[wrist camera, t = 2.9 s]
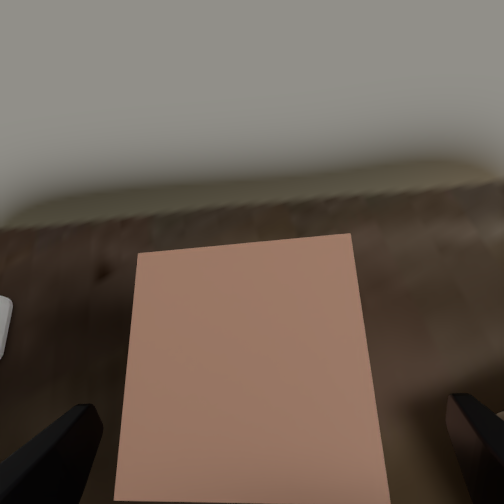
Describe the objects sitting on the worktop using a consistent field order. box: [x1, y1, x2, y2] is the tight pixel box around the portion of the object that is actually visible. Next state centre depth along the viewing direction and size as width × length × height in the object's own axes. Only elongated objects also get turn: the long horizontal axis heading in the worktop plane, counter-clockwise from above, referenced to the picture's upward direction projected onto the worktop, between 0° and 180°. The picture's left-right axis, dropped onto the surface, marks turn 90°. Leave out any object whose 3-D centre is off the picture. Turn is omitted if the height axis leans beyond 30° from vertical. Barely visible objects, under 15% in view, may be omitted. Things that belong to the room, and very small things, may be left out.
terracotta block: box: [114, 233, 391, 504], centre depth 12 cm, size 5×5×11 cm
